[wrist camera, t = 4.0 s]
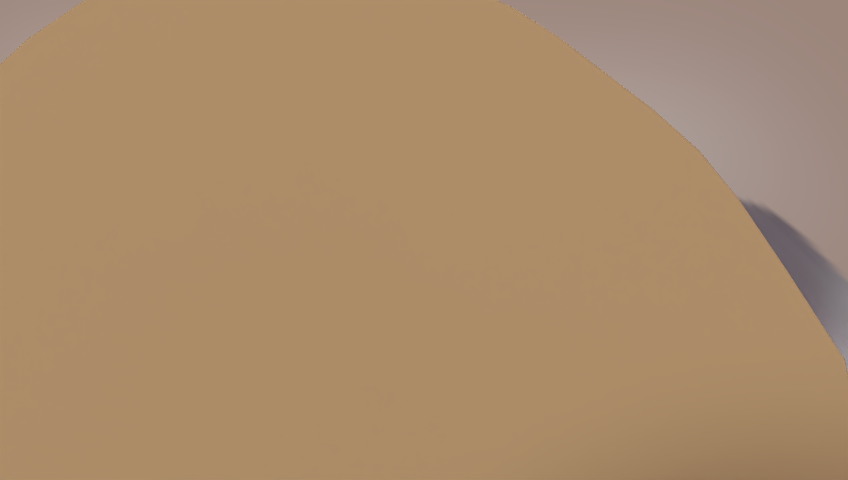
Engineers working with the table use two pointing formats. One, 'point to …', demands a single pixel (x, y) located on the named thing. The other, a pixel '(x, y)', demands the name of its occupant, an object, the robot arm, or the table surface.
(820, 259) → the table surface
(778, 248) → the table surface
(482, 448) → the handle
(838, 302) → the table surface
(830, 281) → the table surface
